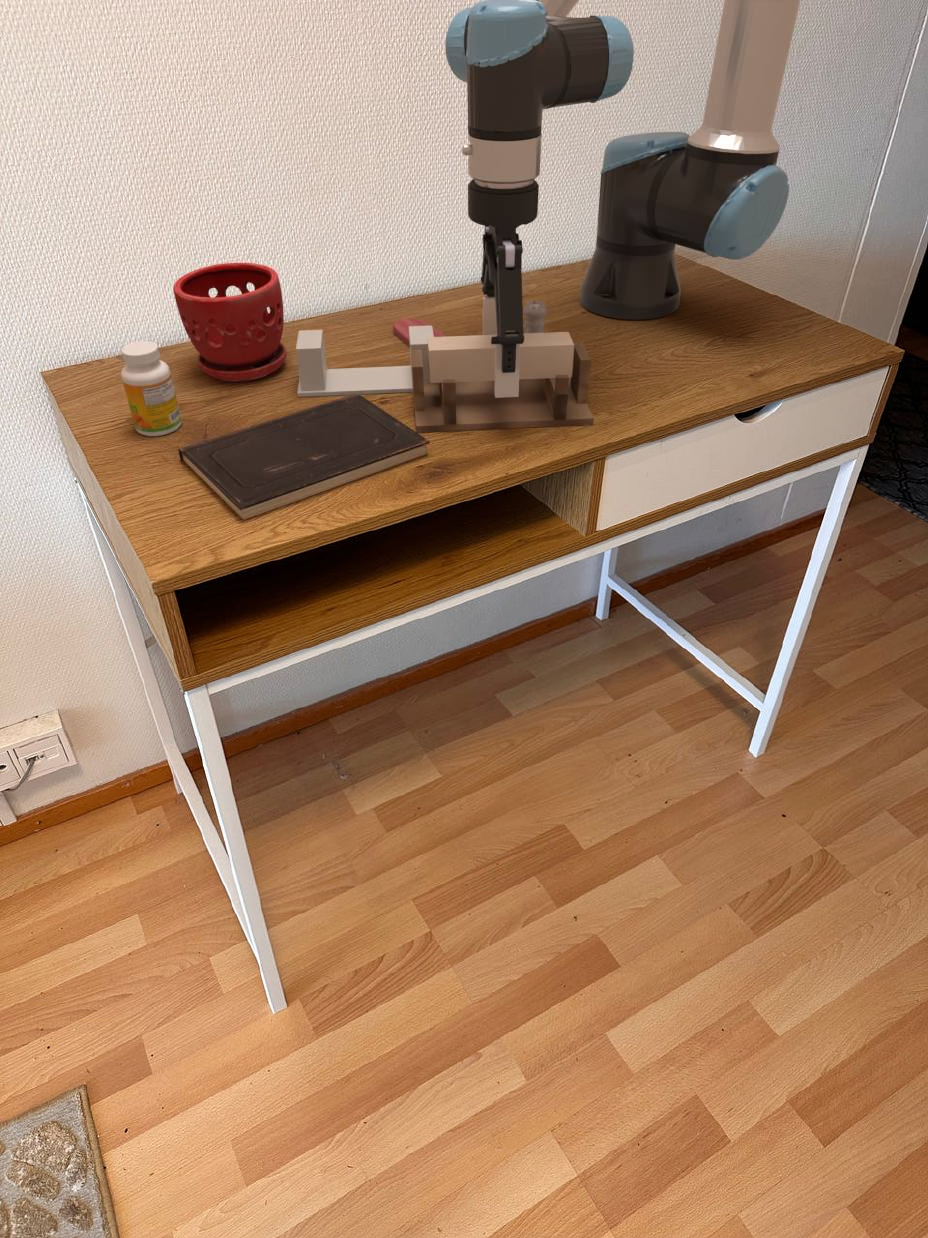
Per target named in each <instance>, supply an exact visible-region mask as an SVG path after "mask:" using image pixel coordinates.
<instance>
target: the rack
mask: <svg viewBox="0 0 928 1238" xmlns="http://www.w3.org/2000/svg"><path fill="white" fill-rule="evenodd" d="M411 358H412V380H413V384H412V387H413V392H412V397H413V400H412V401H413V408H414V409H413V411H414V420H415V421H414V422H415V432H417V433H432V432H433V433H434V432H435V433H436V432H456V431H457V432H458V431H460V432H461V431H477V430H500V429H501V430H502V429H503V430H504V429H523V428H524V429H525V428H542V427H543V428H546V427H566V426H586V425H587V426H588V425H589V426H592V425H594V419H595V418H594V416H593V413H592V412H591V409H590V406H589V404H588V397H589V386H590V385H589V384H590V376H591V375H590V374H591V364H592V360H591V357H590V354H589V353H588V351H587V349H586V346H585V344H584V343H574V355H573V369H572V377H569V376H568V375H556V378H542V379H519V397H502V398H495V395H494V388H495V381H471V382H455V380H443V383H434V384H424V379H423V362H422V354H421V350H411Z"/></svg>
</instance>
